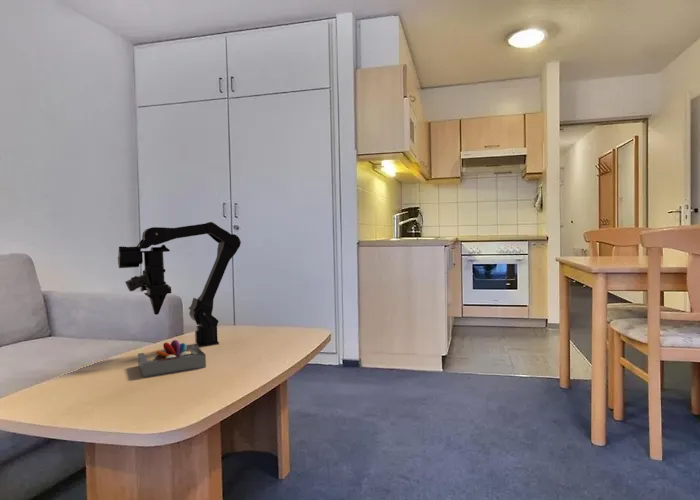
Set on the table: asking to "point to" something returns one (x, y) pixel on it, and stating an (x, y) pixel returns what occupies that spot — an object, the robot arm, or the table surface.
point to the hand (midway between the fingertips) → (156, 314)
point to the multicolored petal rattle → (172, 350)
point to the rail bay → (172, 363)
